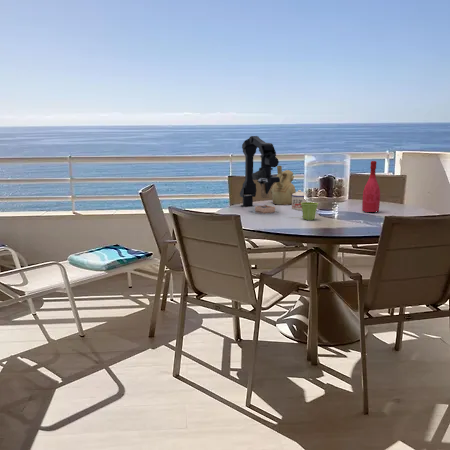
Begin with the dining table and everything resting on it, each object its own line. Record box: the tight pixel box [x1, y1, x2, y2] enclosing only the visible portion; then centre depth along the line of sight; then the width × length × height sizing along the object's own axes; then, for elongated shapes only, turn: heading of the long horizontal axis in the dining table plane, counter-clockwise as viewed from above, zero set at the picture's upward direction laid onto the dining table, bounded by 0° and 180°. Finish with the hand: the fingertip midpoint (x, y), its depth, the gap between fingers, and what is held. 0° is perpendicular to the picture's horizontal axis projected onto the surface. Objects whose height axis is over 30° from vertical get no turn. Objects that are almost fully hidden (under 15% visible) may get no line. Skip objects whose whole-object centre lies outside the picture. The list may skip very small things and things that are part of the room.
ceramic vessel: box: [270, 165, 297, 206], centre depth 324 cm, size 17×20×25 cm
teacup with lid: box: [291, 189, 307, 211], centre depth 303 cm, size 12×9×12 cm
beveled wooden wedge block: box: [260, 183, 270, 199], centre depth 286 cm, size 2×4×8 cm, turn 122°
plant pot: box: [301, 201, 319, 221], centre depth 272 cm, size 9×9×9 cm
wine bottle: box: [361, 160, 381, 213], centre depth 295 cm, size 10×10×30 cm
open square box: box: [254, 204, 276, 214], centre depth 288 cm, size 8×8×3 cm
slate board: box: [248, 209, 278, 215], centre depth 289 cm, size 12×14×1 cm
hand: (265, 193), depth 286 cm, fingers closed on beveled wooden wedge block, 2 cm apart
